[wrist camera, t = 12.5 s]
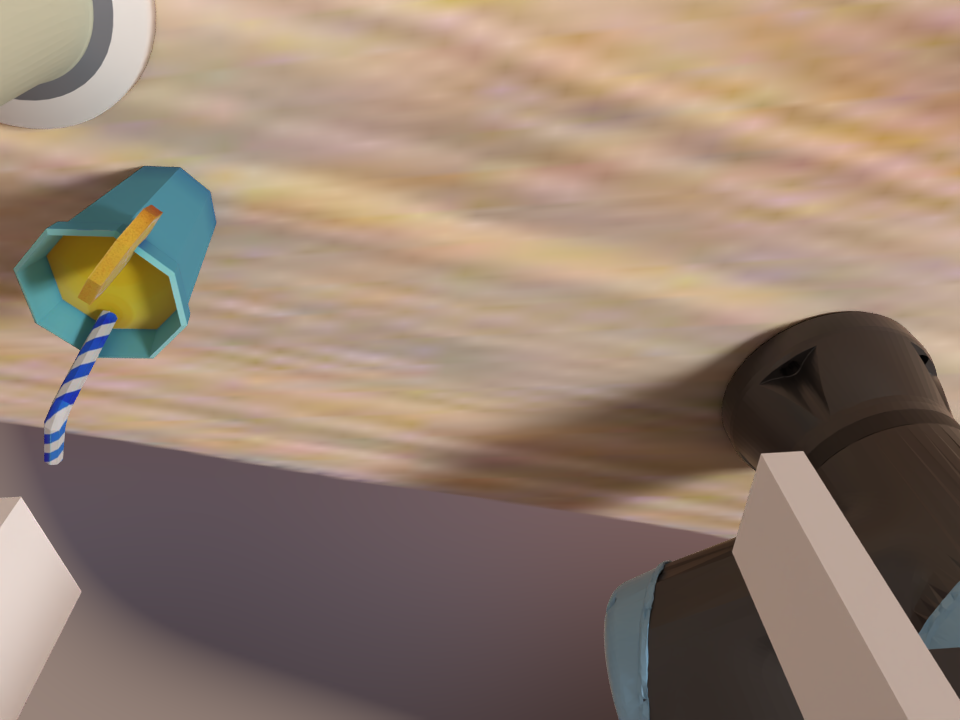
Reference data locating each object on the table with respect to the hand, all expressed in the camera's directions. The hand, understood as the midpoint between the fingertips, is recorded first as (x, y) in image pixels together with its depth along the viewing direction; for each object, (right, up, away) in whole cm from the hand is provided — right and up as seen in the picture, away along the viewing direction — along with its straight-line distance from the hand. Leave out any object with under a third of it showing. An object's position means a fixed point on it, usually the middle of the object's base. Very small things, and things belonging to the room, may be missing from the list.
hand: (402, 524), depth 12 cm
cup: (-18, +12, +28) cm, 35 cm away
